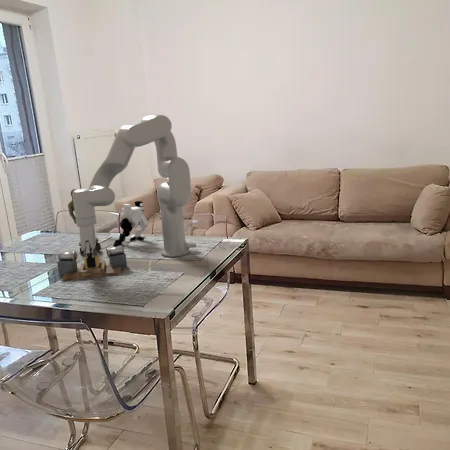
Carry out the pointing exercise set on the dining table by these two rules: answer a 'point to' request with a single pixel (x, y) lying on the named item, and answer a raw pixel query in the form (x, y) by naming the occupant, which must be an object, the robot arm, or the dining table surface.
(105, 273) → the bed
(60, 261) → the shaft
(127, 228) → the robot toy
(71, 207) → the statue
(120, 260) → the shaft
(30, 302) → the dining table surface
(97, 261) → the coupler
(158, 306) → the dining table surface
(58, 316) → the dining table surface
